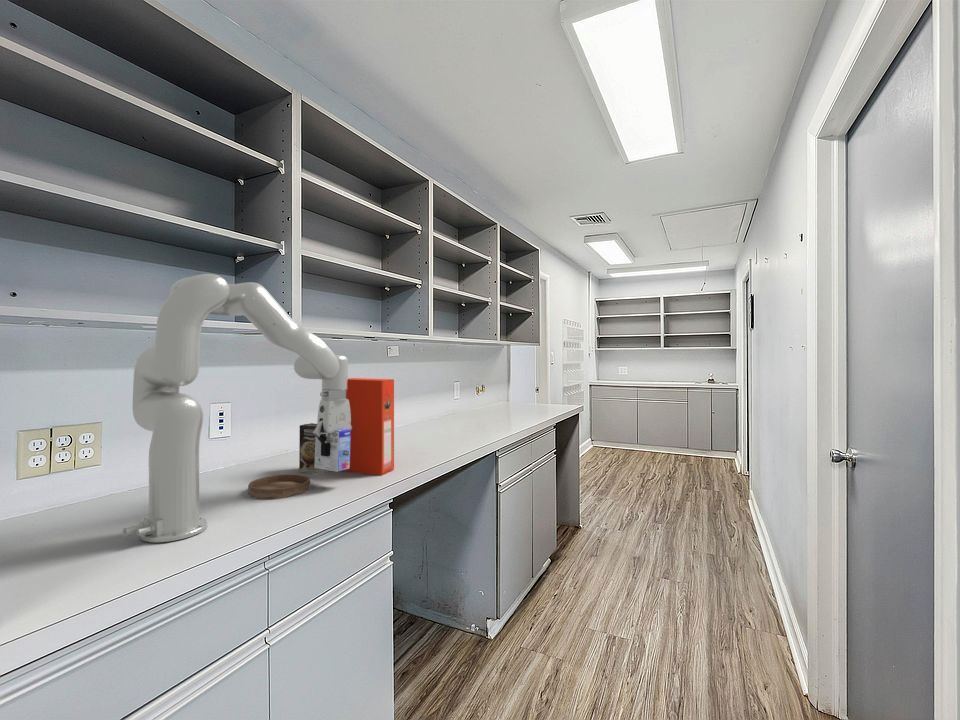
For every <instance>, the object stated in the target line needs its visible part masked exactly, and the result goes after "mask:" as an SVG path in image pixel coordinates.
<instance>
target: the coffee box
mask: <svg viewBox="0 0 960 720" xmlns="http://www.w3.org/2000/svg"><path fill="white" fill-rule="evenodd" d="M316 427H317V423H312V422H311V423H304V424H300V425H299V443H298V444H299V448H298V449H299V451H298V453H299V456H298V458H299V462H298V463H299V467H298V470H299V472H301V473H309V474H316V475H318V474H319V475H321V474H324V473H327V472H329V471H330V470H324V469H318V468H314V465H315V441H316V436H315V435H314V434H313V432H314V430H315V428H316Z"/></svg>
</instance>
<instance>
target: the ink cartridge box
mask: <svg viewBox="0 0 960 720" xmlns="http://www.w3.org/2000/svg"><path fill="white" fill-rule="evenodd" d="M325 438H326V435H325ZM350 439H351V430H350V429H341V430H335V431H334V433H333V434H331V435H330V439H329V442H328V443H330V456H328V457H327V456H321V443H320V442H319V439H318V438H317V437H316V441H315V465H314V468H318V469H324V470H330V471H333V472H341V471H342V470H346V469H350ZM342 472H343V471H342Z"/></svg>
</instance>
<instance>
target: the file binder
mask: <svg viewBox="0 0 960 720" xmlns="http://www.w3.org/2000/svg"><path fill="white" fill-rule="evenodd" d="M347 399H349V403H350V411H351V426H352V429H351V439H350V469H346V470H342V472H350V473H359V474H366V475H374V476H375V475H376V476H384V475H386V474H388V473H390V472H393V471H394V470H395V379H394V378H393V379H391V378H365V377H364V378H362V377H361V378H360V377H359V378H357V377H349V378H348V382H347Z"/></svg>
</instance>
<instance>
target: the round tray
mask: <svg viewBox="0 0 960 720" xmlns="http://www.w3.org/2000/svg"><path fill="white" fill-rule="evenodd" d="M310 486H311V477H310V476H308V475H305V474H300V473H285V474H284V473H283V474H273V475H267V476H264V477H262V476H261V477H259V478H256V479H253V480H252V481H250V482H249V483H248V486H247V488H248V490H247V491H248V495H249V496H250V497H251V498H255V499H260V500H262V499H263V500H274V499H275V500H276V499H284V498H290V497H294V496H298V495H302V494H304V493H306V492H307V491H309V490H310V489H311V487H310Z"/></svg>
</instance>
